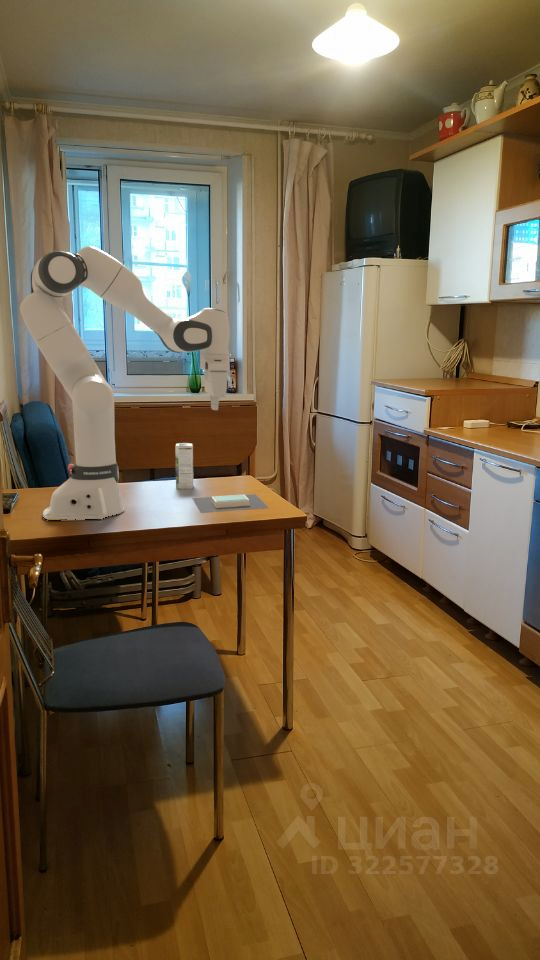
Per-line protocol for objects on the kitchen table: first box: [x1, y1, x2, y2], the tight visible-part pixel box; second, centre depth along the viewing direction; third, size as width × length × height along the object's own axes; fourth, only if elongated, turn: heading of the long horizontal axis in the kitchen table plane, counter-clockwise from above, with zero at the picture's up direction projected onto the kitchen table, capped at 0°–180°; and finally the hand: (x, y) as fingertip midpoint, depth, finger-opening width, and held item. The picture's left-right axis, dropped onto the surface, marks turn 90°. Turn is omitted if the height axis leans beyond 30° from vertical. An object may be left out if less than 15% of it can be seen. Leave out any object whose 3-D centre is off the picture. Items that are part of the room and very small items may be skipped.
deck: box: [211, 494, 249, 508], centre depth 203 cm, size 10×2×7 cm
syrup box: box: [174, 442, 194, 490], centre depth 227 cm, size 6×6×14 cm
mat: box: [192, 493, 270, 514], centre depth 205 cm, size 20×18×1 cm
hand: (214, 409), depth 208 cm, fingers closed
